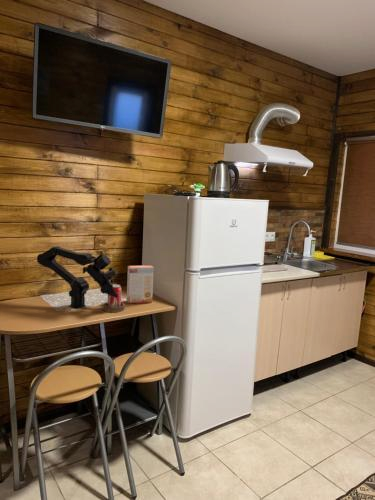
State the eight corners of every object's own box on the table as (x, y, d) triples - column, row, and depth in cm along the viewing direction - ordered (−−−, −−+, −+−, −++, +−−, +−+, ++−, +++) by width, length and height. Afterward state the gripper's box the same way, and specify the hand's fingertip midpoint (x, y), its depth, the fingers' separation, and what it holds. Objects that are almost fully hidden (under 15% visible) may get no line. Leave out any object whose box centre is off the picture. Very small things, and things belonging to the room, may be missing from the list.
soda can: (104, 306, 205) (105, 284, 203) (116, 304, 210) (117, 282, 208) (111, 310, 200) (112, 287, 198) (123, 308, 205) (124, 286, 202)
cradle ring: (113, 313, 197) (113, 308, 197) (99, 308, 204) (99, 303, 203) (128, 309, 206) (129, 304, 205) (115, 304, 212) (115, 300, 212)
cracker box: (149, 299, 226) (151, 265, 223) (152, 302, 221) (154, 267, 218) (126, 300, 221) (127, 265, 218) (128, 303, 216) (129, 267, 213)
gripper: (108, 267, 191) (129, 289, 195) (108, 260, 209) (127, 280, 213) (91, 282, 191) (112, 304, 195) (93, 274, 209) (112, 294, 213)
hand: (117, 295), depth 204 cm, fingers closed on soda can, 7 cm apart
